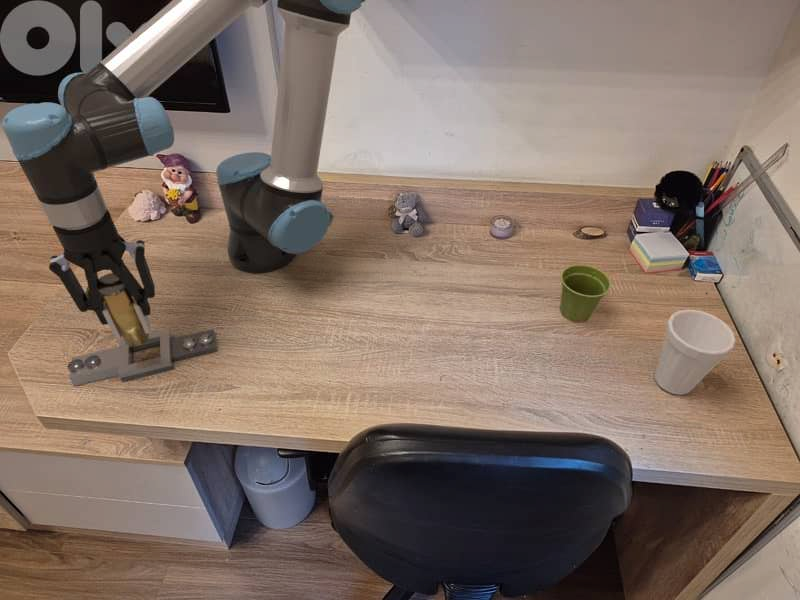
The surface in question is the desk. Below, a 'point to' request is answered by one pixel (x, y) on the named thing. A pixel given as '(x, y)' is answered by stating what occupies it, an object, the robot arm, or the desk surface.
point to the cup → (691, 349)
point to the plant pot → (582, 291)
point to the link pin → (122, 309)
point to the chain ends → (122, 361)
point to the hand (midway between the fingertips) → (133, 330)
